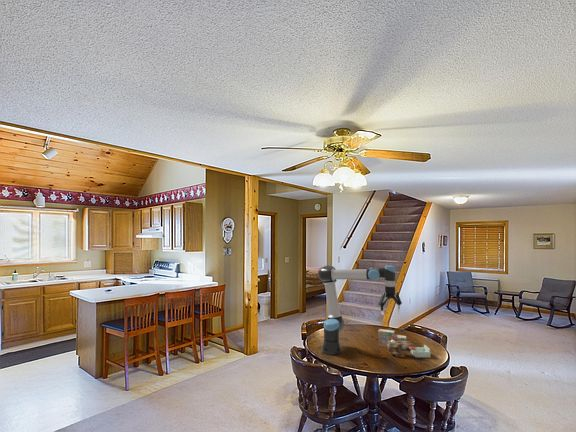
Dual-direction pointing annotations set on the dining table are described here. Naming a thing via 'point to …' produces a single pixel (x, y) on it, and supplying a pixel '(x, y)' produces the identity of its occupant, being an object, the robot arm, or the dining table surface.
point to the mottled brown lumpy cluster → (404, 344)
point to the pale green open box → (421, 352)
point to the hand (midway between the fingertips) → (390, 314)
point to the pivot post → (399, 351)
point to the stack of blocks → (389, 337)
